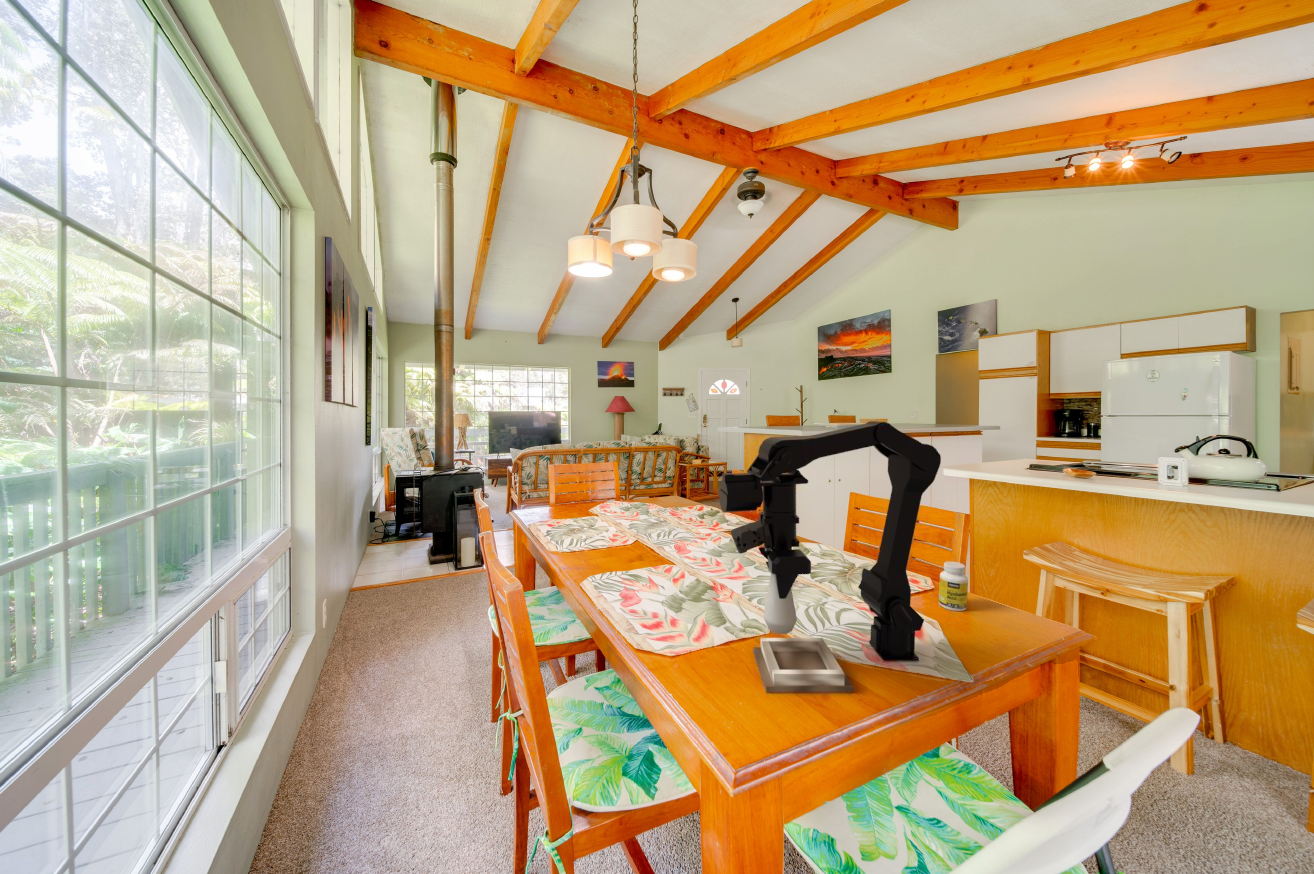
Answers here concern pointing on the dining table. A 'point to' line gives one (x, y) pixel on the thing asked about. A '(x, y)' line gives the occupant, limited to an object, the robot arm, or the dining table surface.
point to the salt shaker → (779, 610)
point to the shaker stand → (799, 666)
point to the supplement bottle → (953, 587)
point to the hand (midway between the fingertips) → (780, 594)
